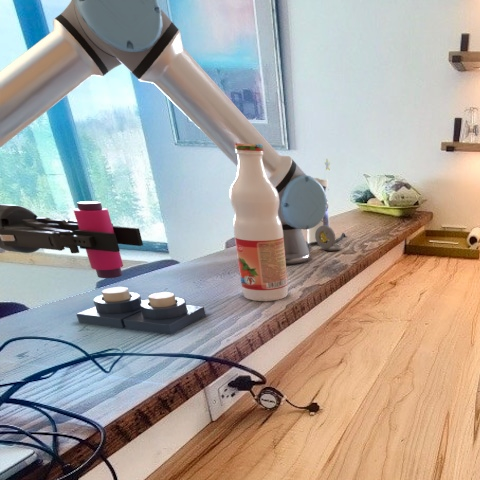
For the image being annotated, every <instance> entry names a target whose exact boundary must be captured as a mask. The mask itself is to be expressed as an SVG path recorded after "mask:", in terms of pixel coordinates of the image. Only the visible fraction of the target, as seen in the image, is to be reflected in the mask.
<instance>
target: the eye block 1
mask: <svg viewBox="0 0 480 480" xmlns="http://www.w3.org/2000/svg"><path fill="white" fill-rule="evenodd" d="M129 294H130V299H127V300H123V301H114V302H108V301H104V298H103V295H102V294H100V295H97V296H95V297H94V299H93V300H92V301H93V304H94V306H93V307H90V308H88V309H85V310H82V311H79V312H77V313H76V317H77V320H78V323H79V324H84V325H92V326H101V327H109V328H115V329H116V328H117V329H126V327H125V324H124V321H123V319H126V318H128V317H130V316H132V315H135V314H137V313H139V312H141V308H140V305H141V303H142V302H144V301H146V300H147V299H142V297H141V295H140V294H139V293H137V292H133V291H129Z"/></svg>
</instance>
